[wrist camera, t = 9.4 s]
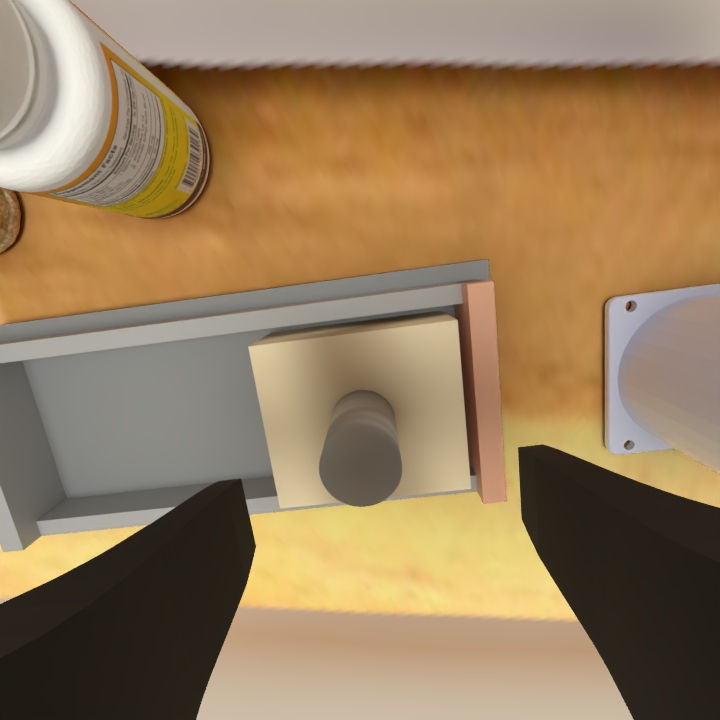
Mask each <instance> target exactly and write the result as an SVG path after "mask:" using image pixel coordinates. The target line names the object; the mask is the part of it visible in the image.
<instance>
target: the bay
mask: <svg viewBox="0 0 720 720" xmlns="http://www.w3.org/2000/svg"><path fill="white" fill-rule="evenodd" d="M433 311H443V312H445V313H447V314H448V315H450V316H452V317H453V318H455V319H457V320H458V331H459V343H460V356H461V368H462V381H463V393H464V406H465V418H466V431H467V443H468V456H469V468H470V481H471V489H466V490H456V491H446V492H437V493H427V494H417V495H407V496H398V497H388V498H387V499H385V500H384V501H387V500H397V499H407V498H417V497H426V496H436V495H446V494H456V493H465V492H475V491H478V494H479V496H480V498H481V500H482V502H483V504H486V503H496V502H506V501H507V497H506V480H505V463H504V446H503V429H502V412H501V395H500V378H499V361H498V344H497V327H496V311H495V294H494V281H490V274H489V259H486V260H477V261H470V262H462V263H455V264H448V265H440V266H433V267H425V268H418V269H411V270H403V271H396V272H388V273H381V274H374V275H366V276H359V277H351V278H344V279H337V280H329V281H322V282H314V283H307V284H300V285H292V286H285V287H277V288H270V289H263V290H255V291H248V292H240V293H233V294H226V295H218V296H211V297H203V298H196V299H189V300H181V301H174V302H166V303H159V304H152V305H144V306H137V307H129V308H122V309H115V310H107V311H100V312H92V313H85V314H78V315H70V316H63V317H55V318H48V319H41V320H33V321H26V322H19V323H11V324H4V325H0V545H1V547H2V550H3V552H8V551H18V550H24V549H25V548H27V547H28V546H29V545H30V544H32V543H33V542H34V541H35V540H37V539H38V538H39V537H40V536H45V535H55V534H65V533H75V532H84V531H94V530H104V529H114V528H124V527H133V526H143V525H149V524H151V523H152V522H154V521H156V520H157V519H159V518H160V517H162V516H163V515H165V514H166V513H168V512H169V511H171V510H172V509H174V508H175V507H177V506H178V505H180V504H181V503H183V502H184V501H186V500H187V499H189V498H190V497H192V496H193V495H195V494H196V493H198V492H200V491H201V490H203V489H205V488H206V487H208V486H210V485H211V484H213V483H215V482H218V481H223V480H232V479H241V480H242V485H243V489H244V494H245V499H246V503H247V508H248V512H249V515H251V514H260V513H270V512H280V511H290V510H299V509H309V508H319V507H329V506H338V505H348V504H345V503H343V502H339V503H330V504H320V505H310V506H300V507H291V508H281V509H280V506H279V501H278V496H277V491H276V486H275V481H274V476H273V470H272V465H271V460H270V455H269V450H268V445H267V440H266V435H265V430H264V425H263V420H262V415H261V409H260V404H259V399H258V394H257V389H256V384H255V379H254V374H253V369H252V364H251V359H250V353H249V348H248V346H250V345H252V344H253V343H255V342H256V341H258V340H260V339H261V338H263V337H264V336H266V335H268V334H269V333H271V332H278V331H285V330H293V329H301V328H309V327H316V326H324V325H332V324H340V323H347V322H355V321H363V320H371V319H379V318H386V317H394V316H402V315H410V314H417V313H425V312H433Z"/></svg>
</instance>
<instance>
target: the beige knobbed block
mask: <svg viewBox="0 0 720 720" xmlns="http://www.w3.org/2000/svg"><path fill="white" fill-rule="evenodd" d="M248 348H249V353H250V359H251V364H252V369H253V374H254V379H255V384H256V389H257V394H258V399H259V404H260V409H261V415H262V420H263V425H264V430H265V435H266V440H267V445H268V450H269V455H270V460H271V465H272V470H273V476H274V481H275V486H276V491H277V496H278V501H279V506H280V509H281V508H291V507H300V506H310V505H320V504H330V503H339V502H343V503H345V504H348V505H352V506H360V507H362V506H371V505H374V504H377V503H380V502H382V501H384V500H385V499H387V498H388V497H398V496H407V495H417V494H427V493H437V492H446V491H456V490H466V489H471V481H470V468H469V456H468V443H467V431H466V418H465V406H464V393H463V381H462V368H461V356H460V343H459V331H458V320H457V319H455V318H453V317H452V316H450V315H448V314H447V313H445V312H443V311H433V312H425V313H417V314H410V315H402V316H394V317H386V318H379V319H371V320H363V321H355V322H347V323H340V324H332V325H324V326H316V327H309V328H301V329H293V330H285V331H278V332H271V333H269V334H268V335H266V336H264V337H263V338H261V339H260V340H258V341H256V342H255V343H253V344H252V345H250V346H248Z"/></svg>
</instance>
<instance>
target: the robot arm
mask: <svg viewBox="0 0 720 720" xmlns="http://www.w3.org/2000/svg"><path fill="white" fill-rule="evenodd" d="M629 301H630V302H631V304H632V306H631V308H630V309H629V310H628V311H627V310H626V308H625V306H626V304H627V302H629ZM628 440H630V442H629V444H628V445H627V446H625V447H624V443H625V442H626V441H628ZM605 447H606V449H607V450H608V451H609V452H611V453H612V454H614V455H621V454H631V453H640V452H650V451H659V450H669V449H677V450H679V451H680V452H682V453H684V454H686V455H687V456H689V457H691V458H692V459H694V460H696V461H697V462H699V463H701V464H703V465H704V466H706V467H708V468H709V469H711V470H713V471H714V472H716V473H718V474H720V283H717V284H709V285H702V286H694V287H686V288H678V289H670V290H662V291H655V292H647V293H639V294H631V295H623V296H616V297H612V298H611V299H609V300H608V301H607V303H606V305H605ZM518 453H519V473H520V493H521V513H522V520H523V523H524V525H525V527H526V530H527V532H528V534H529V536H530V539H531V541H532V543H533V545H534V547H535V549H536V551H537V553H538V555H539V557H540V559H541V560H542V562H543V564H544V565H545V567H546V569H547V570H548V572H549V573H550V575H551V577H552V578H553V580H554V582H555V583H556V585H557V586H558V588H559V590H560V591H561V593H562V594H563V596H564V598H565V599H566V601H567V602H568V604H569V605H570V607H571V609H572V610H573V612H574V613H575V615H576V617H577V618H578V620H579V621H580V623H581V625H582V626H583V628H584V629H585V631H586V632H587V634H588V636H589V637H590V639H591V640H592V642H593V644H594V645H595V647H596V649H597V651H598V652H599V654H600V656H601V657H602V659H603V661H604V663H605V664H606V666H607V668H608V670H609V672H610V674H611V676H612V677H613V680H614V682H615V683H616V685H617V687H618V689H619V691H620V693H621V695H622V697H623V699H624V701H625V703H626V705H627V707H628V709H629V711H630V713H631V715H632V717H633V719H634V720H720V508H718V507H714V506H711V505H707V504H704V503H700V502H697V501H693V500H690V499H687V498H684V497H681V496H677V495H674V494H671V493H668V492H665V491H663V490H660V489H657V488H654V487H651V486H649V485H646V484H643V483H640V482H637V481H635V480H632V479H630V478H627V477H624V476H622V475H619V474H617V473H614V472H612V471H609V470H607V469H604V468H602V467H599V466H597V465H595V464H592V463H590V462H587V461H585V460H582V459H580V458H578V457H575V456H573V455H570V454H568V453H565V452H563V451H560V450H558V449H555V448H552V447H549V446H546V445H535V446H526V447H518ZM255 548H256V545H255V540H254V536H253V531H252V526H251V522H250V517H249V512H248V508H247V503H246V499H245V494H244V489H243V485H242V480H241V479H232V480H223V481H218V482H215V483H213V484H211V485H210V486H208V487H206V488H205V489H203V490H201V491H200V492H198V493H196V494H195V495H193V496H192V497H190V498H189V499H187V500H186V501H184V502H183V503H181V504H180V505H178V506H177V507H175V508H174V509H172V510H171V511H169V512H168V513H166V514H165V515H163V516H162V517H160V518H159V519H157V520H156V521H154V522H152V523H151V524H149V525H148V526H146V527H144V528H143V529H141V530H140V531H138V532H136V533H135V534H133V535H132V536H130V537H128V538H127V539H125V540H124V541H122V542H120V543H119V544H117V545H115V546H114V547H112V548H110V549H109V550H107V551H105V552H104V553H102V554H100V555H98V556H97V557H95V558H93V559H91V560H89V561H88V562H86V563H84V564H82V565H80V566H78V567H76V568H74V569H72V570H71V571H69V572H67V573H65V574H63V575H61V576H59V577H57V578H55V579H53V580H51V581H49V582H47V583H45V584H43V585H41V586H38V587H36V588H34V589H32V590H30V591H28V592H25V593H23V594H21V595H19V596H17V597H15V598H12V599H10V600H8V601H6V602H4V603H2V604H0V720H196V717H197V714H198V711H199V707H200V704H201V701H202V698H203V695H204V692H205V690H206V687H207V684H208V681H209V679H210V676H211V673H212V671H213V668H214V666H215V663H216V661H217V658H218V655H219V653H220V651H221V648H222V646H223V643H224V641H225V638H226V636H227V633H228V631H229V628H230V625H231V623H232V620H233V618H234V616H235V613H236V610H237V608H238V605H239V603H240V600H241V597H242V595H243V592H244V590H245V587H246V584H247V581H248V577H249V573H250V569H251V565H252V561H253V557H254V552H255Z"/></svg>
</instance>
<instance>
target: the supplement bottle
mask: <svg viewBox="0 0 720 720" xmlns="http://www.w3.org/2000/svg"><path fill="white" fill-rule="evenodd" d="M208 172H209V148H208V143H207V139H206V136H205V133H204V131H203V128H202V126H201V124H200V122H199V121H198V119H197V117H196V116H195V114H194V113H193V112H192V110H191V109H190V108H189V107H188V106H187V105H186V104H185V103H184V102H183V101H182V100H181V99H180V98H179V97H178V96H177V95H176V94H175V93H174V92H172V91H171V90H170V89H169V88H168V87H167V86H166V85H165V84H163V83H162V82H161V81H160V80H159V79H158V78H157V77H155V76H154V75H153V74H152V73H151V72H150V71H149V70H147V69H146V68H145V67H144V66H143V65H142V64H141V63H139V62H138V61H137V60H136V59H135V58H134V57H133V56H132V55H131V54H129V53H128V52H127V51H126V50H125V49H124V48H123V47H121V46H120V45H119V44H118V43H117V42H116V41H115V40H114V39H112V38H111V37H110V36H109V35H108V34H107V33H106V32H105V31H103V30H102V29H101V28H100V27H99V26H98V25H97V24H96V23H94V22H93V21H92V20H91V19H90V18H89V17H88V16H87V15H85V14H84V13H83V12H82V11H81V10H80V9H79V8H78V7H76V6H75V5H74V4H73V3H72V2H71V1H70V0H0V187H2V188H6V189H9V190H14V191H18V192H23V193H28V194H33V195H38V196H42V197H47V198H52V199H56V200H61V201H64V202H70V203H75V204H79V205H84V206H89V207H93V208H98V209H103V210H108V211H112V212H117V213H122V214H126V215H131V216H136V217H140V218H149V219H159V218H166V217H170V216H173V215H176V214H178V213H180V212H182V211H183V210H185V209H186V208H188V207H189V206H190V205H191V204H192V203H193V202H194V201H195V200H196V199H197V198H198V196H199V195H200V193H201V192H202V190H203V188H204V185H205V183H206V180H207V177H208Z"/></svg>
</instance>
